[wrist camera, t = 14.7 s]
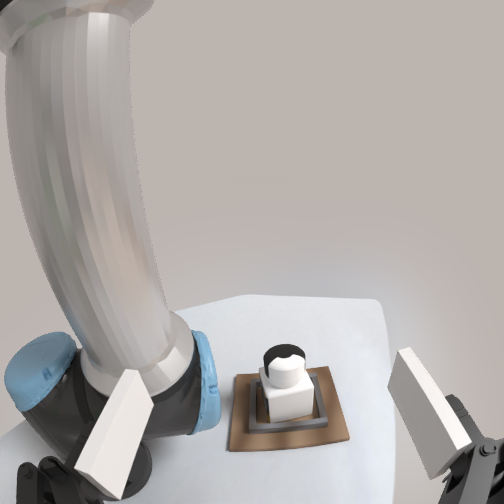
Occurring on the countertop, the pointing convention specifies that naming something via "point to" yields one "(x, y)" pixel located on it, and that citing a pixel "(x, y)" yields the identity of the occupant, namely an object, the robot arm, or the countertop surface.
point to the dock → (290, 431)
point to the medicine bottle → (286, 384)
